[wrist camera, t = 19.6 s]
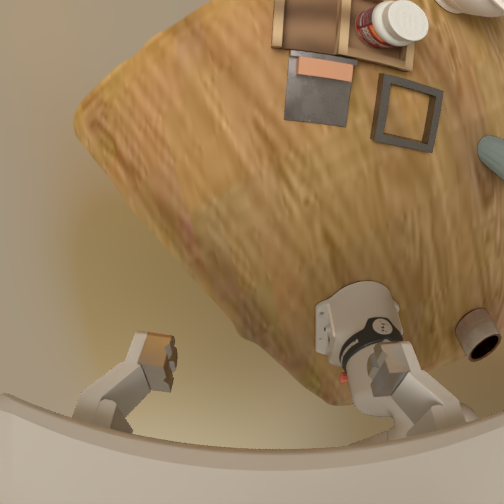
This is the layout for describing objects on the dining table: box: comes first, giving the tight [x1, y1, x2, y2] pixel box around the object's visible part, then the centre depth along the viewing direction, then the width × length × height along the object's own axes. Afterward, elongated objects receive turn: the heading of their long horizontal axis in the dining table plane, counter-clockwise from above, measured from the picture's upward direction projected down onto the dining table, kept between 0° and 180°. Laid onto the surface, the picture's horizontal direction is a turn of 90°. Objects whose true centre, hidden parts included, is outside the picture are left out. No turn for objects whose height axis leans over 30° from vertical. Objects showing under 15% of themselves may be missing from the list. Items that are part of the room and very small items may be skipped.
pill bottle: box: [355, 0, 428, 48], centre depth 27 cm, size 6×6×11 cm
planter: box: [455, 308, 501, 362], centre depth 60 cm, size 11×11×10 cm
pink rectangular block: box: [295, 57, 353, 82], centre depth 34 cm, size 2×7×4 cm, turn 87°
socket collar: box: [370, 73, 444, 153], centre depth 38 cm, size 10×10×2 cm
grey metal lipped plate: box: [284, 50, 358, 127], centre depth 37 cm, size 10×9×3 cm
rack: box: [271, 0, 417, 72], centre depth 31 cm, size 11×20×4 cm, turn 87°
